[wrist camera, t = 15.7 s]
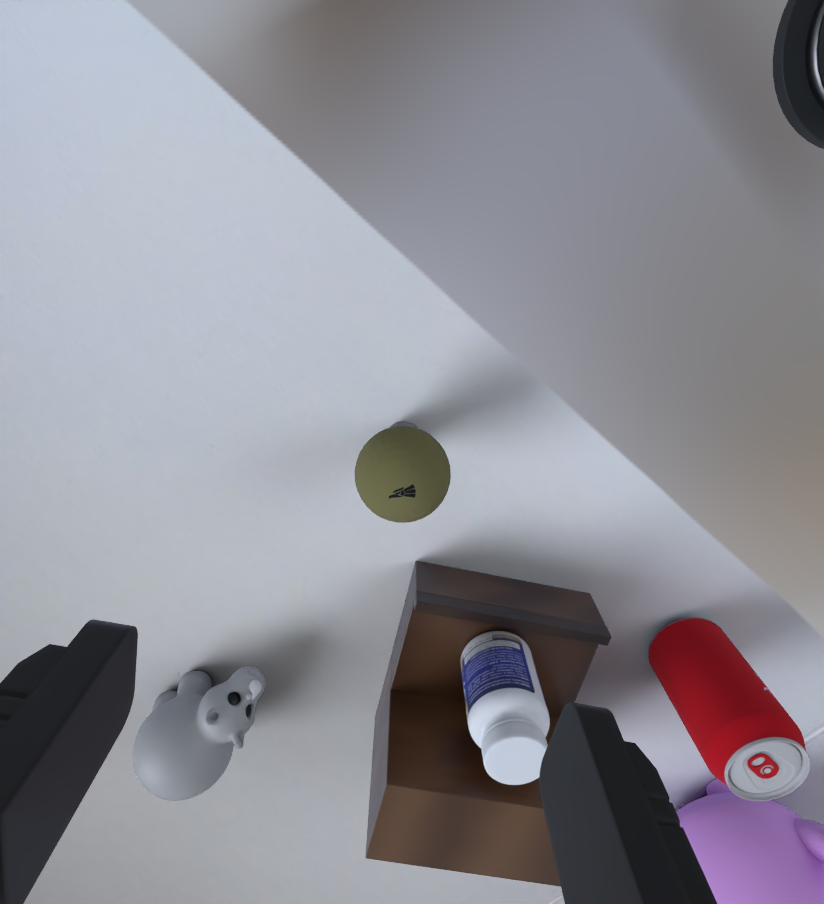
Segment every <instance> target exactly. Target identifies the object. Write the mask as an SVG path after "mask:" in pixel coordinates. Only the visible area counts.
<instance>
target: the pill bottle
mask: <svg viewBox="0 0 824 904" xmlns="http://www.w3.org/2000/svg"><path fill="white" fill-rule="evenodd" d="M461 673H462V680H463V689H464V696H465V705H466V714H467V722H468V727H469V731H470V734H471V736H472V738H473V740H474V741H475V743H476V744H477V745H478V746H479V747H480V748H481V749H482V757H483V763H484V767H485V770H486V771H487V773H488V774H489V776H490V777H492V778H493V779H494V780H496V781H498V782H500V783H503V784H508V785H521V784H526V783H529V782H532V781H534V780H536V779H537V778H539V777H540V767H541V763H542V759H543V756H544V754H545V751H546V749H547V746H548V745H547V741H546V738H545V737H546V735H547V733H548V731H549V726H550V718H549V713H548V709H547V705H546V702H545V699H544V695H543V692H542V689H541V685H540V682H539V678H538V675H537V671H536V668H535V664H534V660H533V657H532V654H531V651H530V649H529V647H528V645H527V644H526V642H525V641H524V640H523V639H521V638H520V637H519V636H517V635H515V634H513V633H509V632H505V631H491V632H486V633H483V634H481V635H479V636H477V637H475V638H474V639H472V640H471V641H470V642H469V643H468V644H467V645H466V647H465V648H464V650H463V652H462V655H461Z"/></svg>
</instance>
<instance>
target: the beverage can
mask: <svg viewBox="0 0 824 904" xmlns="http://www.w3.org/2000/svg"><path fill="white" fill-rule="evenodd" d="M649 662H650V664H651V666H652V668H653V670H654V672H655V674H656V675H657V677H658V679H659V681H660V683H661V684H662V686H663V688H664V690H665V691H666V693H667V695H668V697H669V699H670V700H671V702H672V704H673V706H674V708H675V709H676V711H677V713H678V715H679V717H680V718H681V720H682V722H683V724H684V725H685V727H686V729H687V731H688V733H689V734H690V736H691V738H692V740H693V742H694V743H695V745H696V747H697V749H698V751H699V752H700V754H701V756H702V758H703V759H704V761H705V763H706V765H707V767H708V768H709V770H710V771H711V773H712V774H713V775H714V776H715V777H716V778H717V779H719V780H720V781H721V782H722V783H724V784H725V785H727V786H728V787H729V789H730V790H731V791H732V792H733V793H734V794H735V795H737V796H738V797H740V798H743V799H745V800H750V801H769V800H774V799H777V798H780V797H783V796H785V795H787V794H789V793H791V792H792V791H794V790H795V789H797V788H798V787H799V786H800V785H801V784H802V783H803V782H804V780H805V779H806V777H807V776H808V773H809V771H810V758H809V755H808V753H807V752H806V749H805V744H804V739H803V736H802V733H801V731H800V729H799V728H798V726H797V725H796V724H795V722H794V721H793V720H792V718H791V717H790V716H789V715H788V713H787V712H786V711H785V710H784V708H783V707H782V706H781V704H780V703H779V702H778V701H777V699H776V698H775V697H774V696H773V694H772V693H771V692H770V690H769V689H768V688H767V687H766V685H765V684H764V683H763V682H762V680H761V679H760V678H759V676H758V675H757V674H756V673H755V671H754V670H753V669H752V668H751V666H750V665H749V664H748V662H747V661H746V660H745V659H744V657H743V656H742V655H741V653H740V652H739V651H738V650H737V648H736V647H735V646H734V645H733V643H732V642H731V641H730V639H729V638H728V637H727V636H726V634H725V633H724V632H723V631H722V629H721V628H720V627H719V626H718V625H716V624H715V623H713V622H711V621H709V620H706V619H701V618H686V619H682V620H678V621H676V622H673V623H671V624H669V625H667V626H666V627H664V628H663V629H662V630H661V631H660V632H659V633H658V634H657V635H656V636H655V637H654V639H653V640H652V642H651V645H650V648H649Z"/></svg>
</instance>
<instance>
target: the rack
mask: <svg viewBox="0 0 824 904" xmlns="http://www.w3.org/2000/svg"><path fill="white" fill-rule="evenodd" d="M491 631H505V632H509V633H513V634H515V635H517V636H519V637H520V638H521V639H523V640H524V641H525V642H526V644H527V645H528V647H529V649H530V651H531V654H532V657H533V660H534V664H535V668H536V671H537V675H538V678H539V682H540V685H541V689H542V692H543V695H544V699H545V702H546V705H547V709H548V713H549V718H550V726H549V731H548V733H547V735H546V737H545V738H546V741H547V745H548V744H549V742H550V739H551V737H552V734H553V732H554V729H555V727H556V724H557V722H558V719H559V717H560V714H561V712H562V710H563V707H564V706H565V705H566V704H567V703H569V702H571V703H574V701H575V699H576V697H577V694H578V692H579V689H580V687H581V685H582V682H583V680H584V677H585V675H586V673H587V670H588V668H589V665H590V663H591V660H592V658H593V656H594V653H595V651H596V648H597V646H598V644H601V645H608V644H609V641H610V639H611V635H610V633H609V631H608V629H607V627H606V625H605V623H604V621H603V619H602V617H601V615H600V613H599V611H598V609H597V607H596V605H595V603H594V601H593V599H592V597H591V595H590V594H589V593H584V592H578V591H573V590H568V589H563V588H557V587H552V586H547V585H541V584H536V583H531V582H525V581H520V580H515V579H510V578H504V577H499V576H494V575H488V574H483V573H478V572H472V571H467V570H462V569H457V568H451V567H446V566H441V565H435V564H430V563H425V562H419V561H416V562H415V565H414V569H413V573H412V577H411V581H410V585H409V589H408V593H407V596H406V600H405V604H404V608H403V612H402V616H401V620H400V623H399V627H398V631H397V635H396V639H395V643H394V647H393V651H392V655H391V658H390V662H389V666H388V670H387V674H386V678H385V681H384V685H383V689H382V693H381V697H380V701H379V705H378V709H377V712H376V716H375V727H374V742H373V757H372V771H371V786H370V800H369V815H368V830H367V844H366V858H368V859H375V860H381V861H388V862H395V863H402V864H409V865H416V866H423V867H430V868H437V869H444V870H451V871H458V872H465V873H472V874H478V875H485V876H492V877H499V878H506V879H513V880H520V881H527V882H534V883H541V884H548V885H555V886H561V883H560V879H559V875H558V870H557V866H556V861H555V857H554V853H553V848H552V844H551V840H550V835H549V831H548V827H547V822H546V818H545V813H544V809H543V805H542V800H541V795H540V786H539V778H537V779H536V780H534V781H532V782H529V783H526V784H521V785H508V784H503V783H500V782H498V781H496V780H494V779H493V778H492V777H490V776H489V774H488V773H487V771H486V770H485V767H484V763H483V757H482V749H481V748H480V747H479V746H478V745H477V744H476V743H475V741H474V740H473V738H472V736H471V734H470V731H469V727H468V722H467V714H466V705H465V696H464V689H463V680H462V673H461V655H462V652H463V650H464V648H465V647H466V645H467V644H468V643H469V642H470V641H471V640H472V639H474V638H475V637H477V636H479V635H481V634H483V633H486V632H491Z"/></svg>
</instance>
